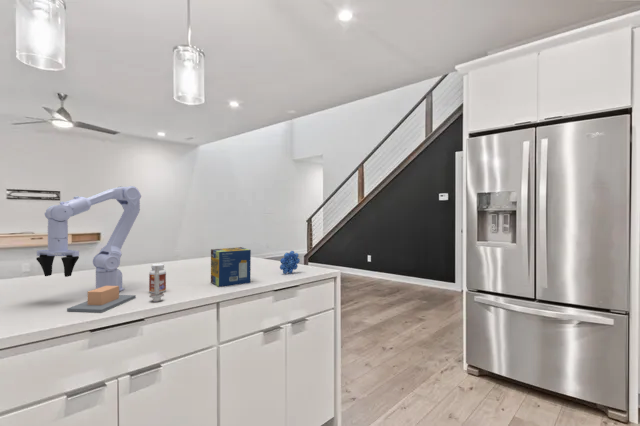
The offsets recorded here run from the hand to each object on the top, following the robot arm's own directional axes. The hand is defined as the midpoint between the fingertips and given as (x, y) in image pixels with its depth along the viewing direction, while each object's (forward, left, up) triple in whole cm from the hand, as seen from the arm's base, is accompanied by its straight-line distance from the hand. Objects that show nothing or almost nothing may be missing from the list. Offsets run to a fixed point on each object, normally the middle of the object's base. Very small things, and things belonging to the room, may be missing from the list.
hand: (58, 276), depth 122 cm
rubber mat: (+1, +18, -9) cm, 20 cm away
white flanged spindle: (-5, +34, -10) cm, 36 cm away
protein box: (-37, +51, -10) cm, 64 cm away
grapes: (-62, +74, -10) cm, 97 cm away
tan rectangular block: (+1, +18, -8) cm, 20 cm away
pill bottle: (-18, +27, -10) cm, 34 cm away
